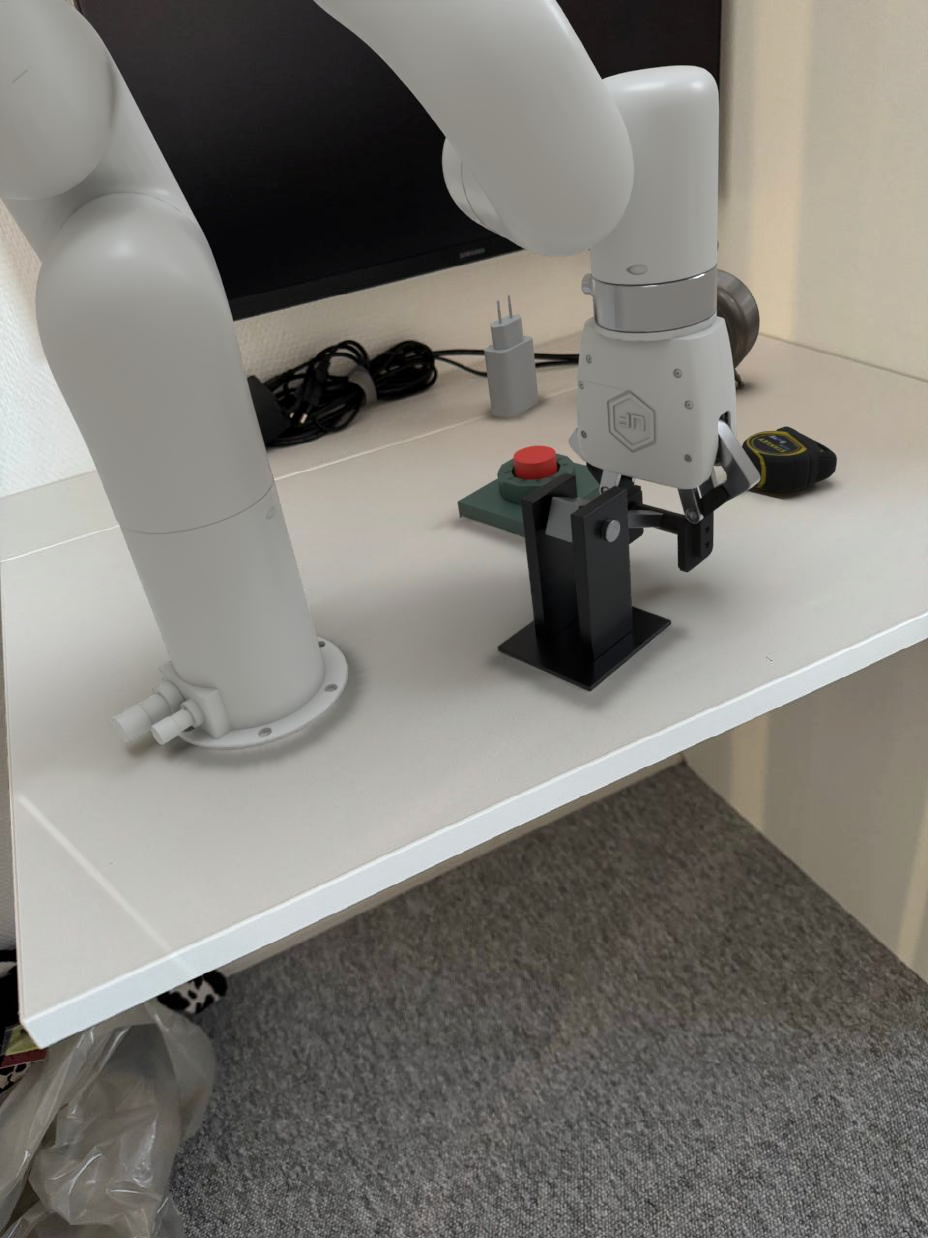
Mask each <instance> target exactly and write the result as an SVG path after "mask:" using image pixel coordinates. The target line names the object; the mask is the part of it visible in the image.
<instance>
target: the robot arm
mask: <svg viewBox="0 0 928 1238" xmlns="http://www.w3.org/2000/svg"><path fill="white" fill-rule="evenodd" d="M313 2H314V3H315V4H316V5H317V6H318V7H320V8H321V9H322V10H323V11H324V12H326V13H327V14H328V15H330V17H332V18H333V19H335V20H336V21H337V22H339V23H340V24H341V25H343V26H344V27H345V28H346V29H348V30H349V31H350V32H352V33H353V34H355V35H356V37H358V38H359V39H360V40H361V41H363V42H364V43H365V44H366V45H367V46H368V47H369V48H370V49H372V51H374V52H375V53H376V54H377V56H379V57H380V58H381V60H383V62H384V63H385V64H386V65H387V66H388V67H389V69H391V70H392V71H393V72H394V74H395V75H396V76H397V77H398V78H399V79H400V80H401V82H402V83H403V84H404V85H405V86H406V87H407V88H408V90H409V91H410V92H411V93H412V95H414V97H415V98H416V99H417V101H418V102H419V103H420V105H421V106H422V107H423V108H424V110H425V111H426V113H427V114H428V115H429V117H430V118H431V119H432V120H433V121H434V123H435V124H436V126H437V127H438V128H439V130H440V131H441V132H442V133H443V135H444V137H445V139H444V143H443V147H442V152H441V153H442V154H441V166H442V174H443V179H444V183H445V186H446V189H447V191H448V193H449V195H450V197H451V199H452V200H453V201H454V203H455V205H456V206H457V207H458V208H459V209H460V210H461V211H462V212H463V213H464V214H465V215H466V216H467V217H468V218H469V219H470V220H472V221H473V222H475V223H476V224H478V225H480V226H482V227H483V228H485V229H487V230H488V231H491V232H492V233H494V234H496V235H498V236H500V237H502V238H505V239H507V240H509V241H510V242H512V243H513V244H516V246H519V247H521V248H522V249H523V250H527V251H529V252H531V253H533V254H535V255H539V256H543V257H549V258H555V257H556V258H563V257H564V258H565V257H570V256H574V255H579V254H581V253H583V252H586V251H588V250H589V256H590V257H589V258H590V273H586V274H584V276H583V277H582V280H581V284H580V286H581V292H582V294H583V295H587V296H591V297H592V308H593V316H592V317H590V318H588V319H587V320H586V321H584V323H583V330H582V335H581V340H580V346H579V347H580V348H579V354H578V365H577V380H576V381H577V382H576V428H575V429H574V431H573V432H572V433H571V436H569V438H568V445H569V447H570V448H571V449H572V450H573V451H574V453H576V455H577V456H578V458H580V459H581V460H582V462H584V463H585V465H586V466H587V468H588V470H589V471H590V473H591V474H592V475H593V477H594V478H595V479H596V481H597V482H598V483H599V484H600V488H599V492H600V494H602V493H604V492H605V491H607V490H608V489H610V488H611V487H613V486H617V487H621V488H625V489H627V506H628V504H629V503H630V502H632V501H635V502H639V503H642V504H644V500H643V499H644V498H643V497H644V496H643V490H642V486H641V485H638V484H635V482H636V479H638V480H641V481H645V482H649V483H653V484H657V485H660V486H661V485H662V486H665V487H669V488H672V489H673V488H674V489H677V493H678V497H679V500H680V504H681V507H682V511H683V515H685V517H684V518H682V519H681V520H680V521H679V522H678V525H677V535H676V536H677V568H678V569H679V571H680V572H684V573H689V572H691V571H692V570H694V569H695V568H696V567H697V566H698V565H700V564H701V563H702V562H703V561H704V560H706V559H707V558H709V556H710V555H712V552H713V549H714V534H715V533H714V530H715V529H714V527H715V526H714V525H715V524H714V523H715V511H716V510H718V509H719V508H720V507H722V506H723V505H724V504H726V503H727V502H729V501H731V500H733V499H735V498H736V497H738V496H741V495H742V494H744V493H747V492H748V491H749V490H750V489H752V488H753V487H754V485H756V484H757V483H758V482H759V481H760V474H759V472H758V471H757V469H756V468H755V466H754V465H753V463H752V461H751V460H750V458H749V457H748V455H747V454H746V452H745V451H744V449H743V448H742V444H741V443H740V442H739V440H738V439H737V433H738V428H737V427H738V420H737V419H738V418H737V417H738V414H737V411H738V410H737V393H736V391H737V390H736V381H735V379H734V369H733V361H732V353H731V348H730V342H729V336H728V332H727V328H726V323H725V319H724V318H721V317H718V316H717V269H718V251H717V241H718V242H719V240H718V239H719V237H718V235H719V234H718V233H719V232H718V231H719V229H718V228H719V227H718V226H719V157H720V156H719V155H720V153H719V152H720V151H719V150H720V149H719V148H720V147H719V145H720V99H719V98H720V96H719V89H718V84H717V82H716V80H715V78H714V76H713V75H712V73H710V72H709V71H708V70H707V69H705V68H703V67H700V66H696V65H667V66H659V67H650V68H643V69H638V70H631V71H626V72H622V73H618V74H614V75H611V76H608V77H604V78H602V77H601V76H600V74H599V71H597V70H598V69H597V68H596V66H595V65H594V63H593V61H592V60H591V58H590V55H589V54H588V52H587V50H586V48H585V47H584V45H583V43H582V41H581V40H580V38H579V36H578V35H577V33H576V32H575V29H574V28H573V26H572V24H571V23H570V21H569V19H568V18H567V16H566V14H565V13H564V11H563V9H562V7H561V6H560V5H559V3H558V1H557V0H313ZM167 162H168V161H166V158H165V157H164V154H163V153H162V150H161V149H160V147H159V144H158V143H157V141H156V140H155V137H154V136H153V133H152V131H151V130H150V127H149V126H148V123H147V122H146V121H145V118H144V116H143V114H142V112H141V110H140V108H139V106H138V104H137V102H136V100H135V98H134V97H133V94H132V93H131V91H130V88H129V87H128V85H127V83H126V81H125V79H124V77H123V75H122V73H121V72H120V70H119V68H118V66H117V64H116V62H115V60H114V58H113V56H112V55H111V52H110V50H109V48H107V46H106V44H105V43H104V41H103V39H102V37H100V34H99V33H98V32H97V31H96V29H95V28H94V27H93V25H92V24H91V23H90V21H88V19H86V18H85V17H84V15H82V13H81V12H80V11H79V10H77V8H75V7H74V6H73V5H72V4H71V3H69V2H68V1H67V0H0V200H1V201H2V203H3V205H4V206H5V208H6V209H7V211H8V212H9V214H10V215H11V217H12V218H13V220H14V222H15V224H16V225H17V227H18V228H19V230H20V231H21V233H22V235H23V236H24V237H25V239H26V240H27V243H28V244H29V245H30V247H31V248H32V251H33V252H34V253H35V255H36V256H37V258H38V260H39V261H40V262H41V265H40V267H39V271H38V275H37V280H36V288H35V299H34V300H35V317H36V318H35V319H36V325H37V331H38V335H39V339H40V343H41V344H40V345H41V347H42V350H43V354H44V357H45V358H46V361H47V364H48V367H49V369H50V371H51V374H52V376H53V379H54V381H55V383H56V385H57V387H58V389H59V391H60V394H61V396H62V397H63V400H64V401H65V403H66V405H67V407H68V409H69V412H70V413H71V415H72V418H73V420H74V422H75V423H76V426H77V428H78V430H79V432H80V434H81V436H82V439H83V441H84V444H85V445H86V448H87V450H88V453H89V455H90V457H91V459H92V461H93V464H94V466H95V470H96V471H97V474H98V476H99V479H100V481H101V484H102V487H103V489H104V492H105V495H106V497H107V499H108V503H109V504H110V508H111V511H112V513H113V515H114V518H115V520H116V522H117V524H118V525H119V529H120V531H121V533H122V536H123V539H124V541H125V544H126V547H127V549H128V552H129V554H130V557H131V560H132V563H133V565H134V568H135V571H136V573H137V575H138V578H139V581H140V584H141V586H142V589H143V591H144V594H145V597H146V599H147V601H148V604H149V607H150V610H151V612H152V614H153V617H154V620H155V622H156V625H157V628H158V631H159V633H160V636H161V638H162V639H161V640H162V641H163V644H164V646H165V649H166V651H167V655H168V657H169V660H168V661H167V662H166V663H164V664H162V665H160V666H159V667H158V668H157V670H158V672H159V674H160V677H161V680H162V681H163V682H162V683H160V684H159V685H157V686H156V687H154V688H152V695H151V696H149V697H148V698H146V699H144V700H141V702H139V703H136V704H133V705H132V706H130V707H129V708H127V709H125V710H124V711H122V712H120V713H118V714H117V715H115V716H113V717H112V718H111V723H112V726H113V728H114V730H115V732H116V733H117V735H118V736H119V738H121V740H122V741H123V742H124V743H126V744H131V743H132V742H134V741H135V740H138V738H140V737H142V736H144V735H145V734H146V733H148V732H151V735H152V737H153V738H154V739H155V741H156V742H157V743H158V744H159V745H161V746H164V745H165V744H167V743H168V742H170V741H171V740H173V739H175V738H177V737H179V739H182V740H183V741H185V742H186V743H189V744H192V745H194V746H196V747H200V748H205V749H209V750H210V749H211V750H223V751H225V750H227V751H229V750H242V749H250V748H253V747H260V746H263V745H267V744H271V743H273V742H277V741H279V740H282V739H285V738H288V737H289V736H291V735H293V734H296V733H298V732H300V731H302V730H303V729H304V728H306V727H309V726H310V725H312V724H313V723H314V722H316V721H318V720H319V719H320V718H322V717H323V716H324V715H325V714H326V713H327V712H328V711H330V710H331V708H332V707H333V706H334V705H335V704H336V703H337V702H338V700H339V699H340V698H341V696H342V694H343V692H344V691H345V689H346V687H347V683H348V680H349V665H348V662H347V659H346V656H345V655H344V653H343V652H342V650H341V649H340V647H338V646H337V645H335V644H334V643H333V642H332V641H329V640H327V639H325V638H323V637H321V636H317V634H316V628H315V626H314V625H315V624H314V621H313V618H312V614H311V610H310V607H309V604H308V600H307V596H306V592H305V589H304V585H303V581H302V577H301V574H300V569H299V566H298V563H297V559H296V556H295V553H294V552H295V551H294V548H293V544H292V540H291V536H290V533H289V530H288V526H287V522H286V518H285V515H284V511H283V506H282V503H281V500H280V496H279V492H278V489H277V486H276V482H275V478H274V474H273V471H272V468H271V464H270V461H269V456H268V453H267V449H266V446H265V442H264V438H263V435H262V431H261V427H260V423H259V420H258V416H257V412H256V408H255V405H254V401H253V397H252V393H251V390H250V385H249V382H248V377H247V374H246V370H245V367H244V362H243V357H242V352H241V348H240V343H239V340H238V335H237V330H236V326H235V323H234V319H233V315H232V312H231V308H230V304H229V299H228V297H227V293H226V290H225V287H224V284H223V280H222V277H221V274H220V271H219V269H218V265H217V263H216V260H215V257H214V254H213V252H212V251H213V250H212V248H211V247H210V244H209V242H208V240H207V239H208V238H206V236H205V233H204V232H203V231H204V230H203V229H202V227H201V226H200V224H199V222H198V220H197V218H196V216H195V215H194V213H193V211H192V209H191V206H190V205H189V203H188V201H187V199H186V197H185V195H184V193H183V192H182V191H183V190H182V189H181V188H180V185H179V183H178V182H177V180H176V178H175V176H174V173H173V172H172V170H171V168H170V167H169V164H168V163H167ZM715 467H721V468H722V469H723V471H724V472H725V475H726V479H724V480H723V481H722V482H720V483H718V478H717V475H716V471H715ZM628 529H629V545H631V544H632V543H633V542H635V541H636V540H638V539H639V538H640V537H642V536H643V535H644V532H645V530H644V529H645V528H628ZM320 646H322V647H320ZM332 688H335V690H332V691H328V690H329V689H332ZM192 727H193V729H191V730H188V731H186V730H187V729H189V728H192ZM266 732H269V734H268V735H265V736H261V735H262V734H264V733H266Z"/></svg>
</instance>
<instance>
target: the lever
mask: <svg viewBox="0 0 928 1238" xmlns="http://www.w3.org/2000/svg"><path fill="white" fill-rule="evenodd" d="M589 502H590V501H589V500H586V499H582V498H576V497H552V501H551V506H550V511H549V516H548V521H547V526H546V531H545V534H547V535H550V536H553V537H556V538H559V539H562V540H565V541H568V542H571V543H572V531H571V519H570V515H571V514H572V513H573V512H575V511H576V510H578V509H579V508H581V507H582V506H584V505H585V504H587V503H589ZM627 507H628V528H644V529H646V528H647V529H656V530H660V531H663V532H666V533H670V534H673V535H676V536H677V525H678V522H679V521H680V520H681V519H682V518H684V517H685V515H684V514H683V513H679V512H674V511H672V510H668V509H664V508H660V507H658V506H653V505H650V504H646V503H643V504H642V503H639V502H635V501H632V502H630V503H629V504H628V506H627Z"/></svg>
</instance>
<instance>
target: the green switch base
mask: <svg viewBox="0 0 928 1238" xmlns="http://www.w3.org/2000/svg"><path fill="white" fill-rule="evenodd" d="M556 462H557V473H555V474H554V475H552V476H550V477H546V478H542V479H531V480H524V479H521V478H517V477H516V475H515V467H514V459H513V458H511V459H509V460H507V461H505V462H504V463H502V464H501V465H500V467H499V469H498V471H497V473H496V477H497V478H496V479H493V480H492V481H490V482H489V483H487V484H485V485H483V486H482V487H480V488H478V489H476V490H475V491H473V492H471V493H470V494H468V495H466V496H465V497H462V498H461V499H460V500H458V501H457V507H458V515H459V519H461V518H463V517H464V518H467V519H470V520H473V521H476V522H479V523H481V524H484V525H487V526H490V527H494V528H497V529H500V530H502V531H505V532H508V533H512V534H514V535H518V536H520V537H523V538H525V537H524V528H523V519H522V511H521V502H520V500H521V499H522V498H524V497H525V496H527V495H528V494H530V493H532V492H533V491H535V490H537V489H538V488H540V487H541V486H543V485H545V484H546V483H548V482H550V481H551V480H553V479H554V478H556V477H558V476H559V475H561V474H563V473H568V474H572V475H575V476H576V484H577V497H578V498H582V499H586V500H589V501H592V500H593V499H595V498H596V497H598V496H599V495H601V494H600V492H599V488H600V484H599V483H598V482H597V481H596V479H595V478H594V477H593V475H592V474H591V473H590V471H589V470H588V468H587V466H586V464H581V463H578V462H574V461H573V460H572V459H571V458H570V457H569V456H567V455H564V454H560V453H556Z"/></svg>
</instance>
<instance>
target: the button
mask: <svg viewBox="0 0 928 1238" xmlns="http://www.w3.org/2000/svg"><path fill="white" fill-rule="evenodd" d="M556 454H557V453H556V450H555V449H554V448H553V447H551V446H549V445H531V446H526V447H523V448H520V449H518V450H517V451H516V452H514V454H513V456H512V457H513V458H512V459H514V467H515V475H516V477H517V478H521V479H524V480H531V479H542V478H546V477H550V476H552V475H554V474H555V473H557V462H556Z"/></svg>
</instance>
